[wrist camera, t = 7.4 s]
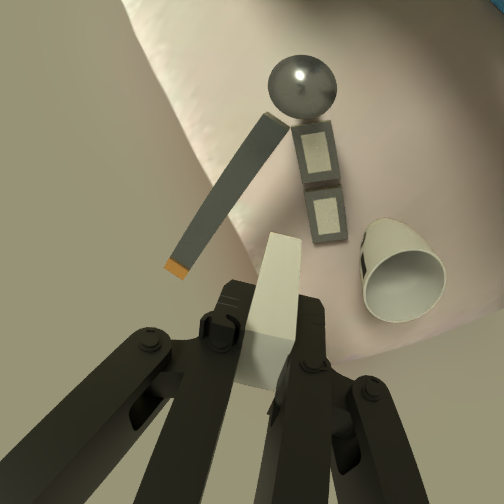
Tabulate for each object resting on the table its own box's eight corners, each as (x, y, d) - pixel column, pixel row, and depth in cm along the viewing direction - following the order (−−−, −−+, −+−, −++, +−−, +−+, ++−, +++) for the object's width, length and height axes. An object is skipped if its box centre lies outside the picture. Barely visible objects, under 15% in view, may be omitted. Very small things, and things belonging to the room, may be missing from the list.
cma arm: (294, 48, 18) (293, 42, 16) (344, 83, 19) (350, 82, 16) (164, 244, 28) (152, 259, 26) (203, 270, 29) (194, 287, 26)
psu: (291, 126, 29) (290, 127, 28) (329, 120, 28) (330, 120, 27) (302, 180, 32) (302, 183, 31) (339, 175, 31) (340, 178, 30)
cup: (341, 218, 33) (352, 266, 24) (408, 195, 30) (441, 235, 22) (361, 276, 36) (373, 332, 28) (421, 255, 33) (448, 307, 25)
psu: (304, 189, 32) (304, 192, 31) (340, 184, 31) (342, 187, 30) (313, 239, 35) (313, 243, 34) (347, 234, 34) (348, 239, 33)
